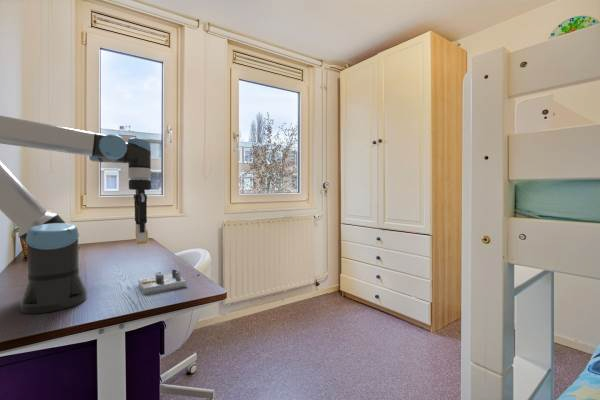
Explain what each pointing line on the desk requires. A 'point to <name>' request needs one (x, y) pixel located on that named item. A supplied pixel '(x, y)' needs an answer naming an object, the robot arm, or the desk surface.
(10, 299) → the desk surface
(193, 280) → the desk surface
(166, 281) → the junction plate
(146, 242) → the beige block
